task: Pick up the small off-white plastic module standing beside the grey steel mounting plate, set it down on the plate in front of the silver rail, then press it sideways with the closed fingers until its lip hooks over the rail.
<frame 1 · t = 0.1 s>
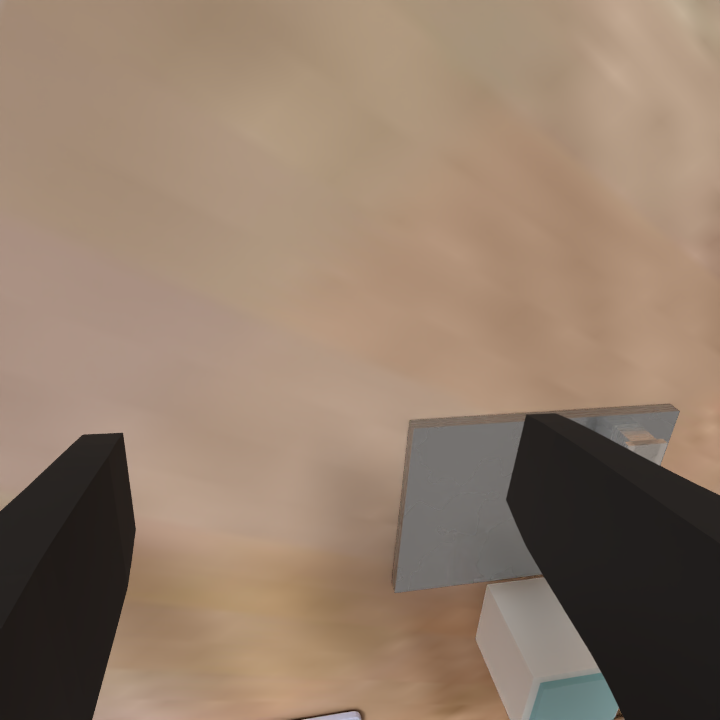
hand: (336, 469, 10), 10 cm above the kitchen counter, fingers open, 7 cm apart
plate: (526, 496, 26), on the kitchen counter
module: (525, 605, 29), on the kitchen counter
lightbulb: (610, 717, 36), on the kitchen counter
rail: (595, 489, 26), resting on plate
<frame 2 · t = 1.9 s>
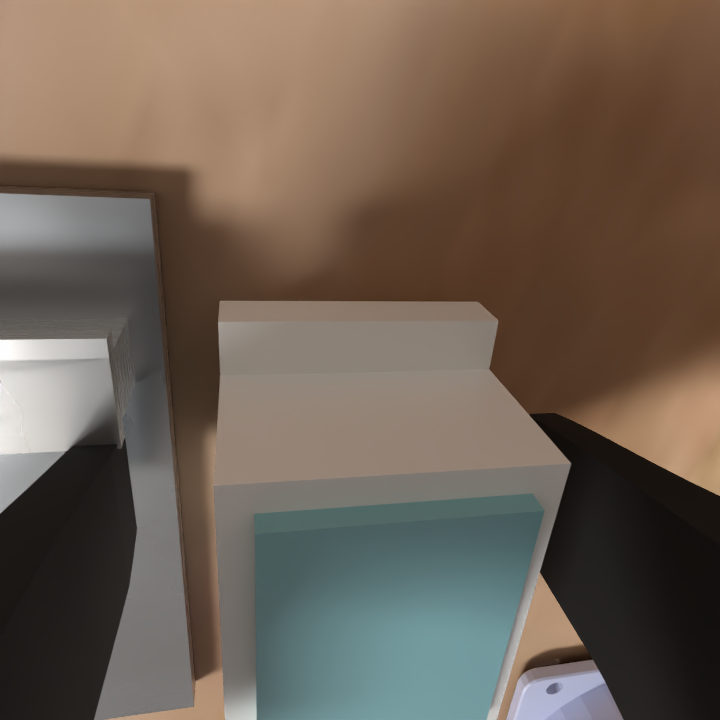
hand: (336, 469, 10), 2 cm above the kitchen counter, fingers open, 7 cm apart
module: (327, 422, 12), on the kitchen counter
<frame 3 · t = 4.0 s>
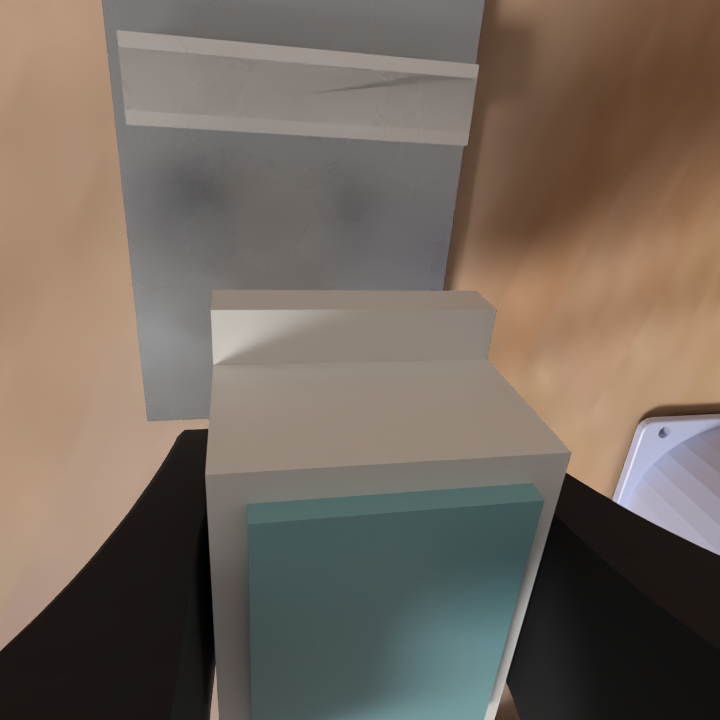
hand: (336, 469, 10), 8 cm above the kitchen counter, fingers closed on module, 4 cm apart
plate: (296, 226, 16), on the kitchen counter
module: (323, 415, 11), point 7 cm above the kitchen counter, touching gripper
rail: (299, 91, 15), resting on plate
when the fingers open (3 cm above the kitchen counter, at t = 5.3 s): module stays where it is, resting on plate.
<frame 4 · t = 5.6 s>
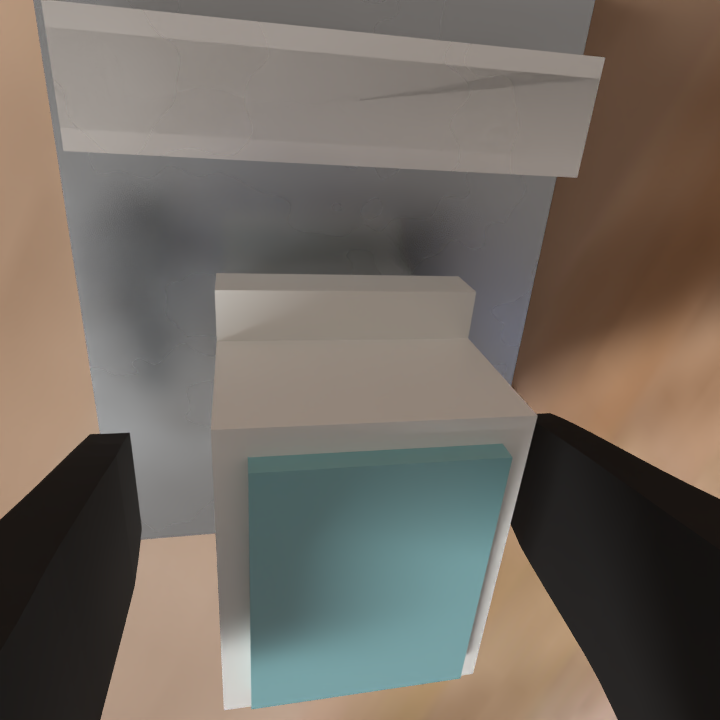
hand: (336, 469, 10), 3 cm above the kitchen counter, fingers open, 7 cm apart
plate: (319, 283, 12), on the kitchen counter
module: (319, 395, 12), point 1 cm above the kitchen counter, touching plate
rail: (328, 97, 10), resting on plate
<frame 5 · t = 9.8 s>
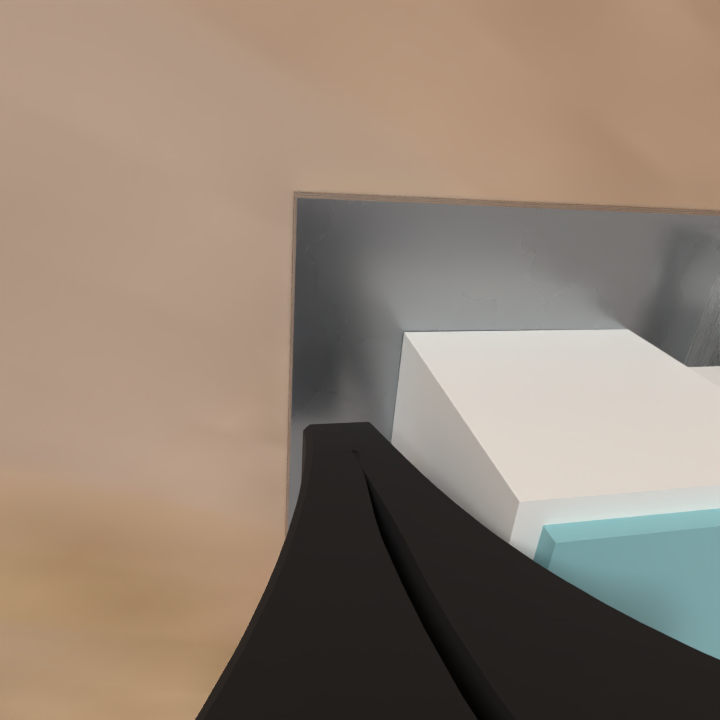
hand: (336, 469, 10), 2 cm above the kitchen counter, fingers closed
plate: (544, 399, 13), on the kitchen counter
module: (503, 414, 12), point 1 cm above the kitchen counter, touching gripper
rail: (672, 394, 14), resting on plate
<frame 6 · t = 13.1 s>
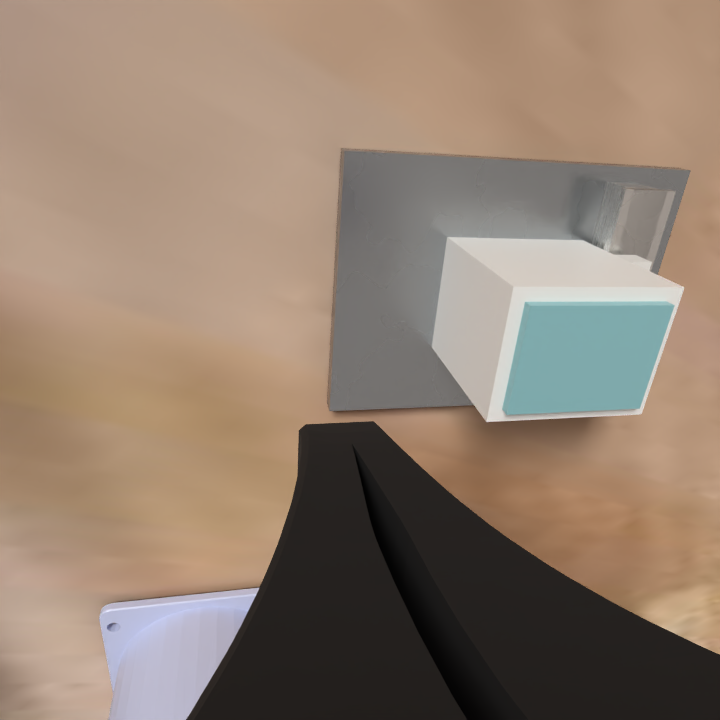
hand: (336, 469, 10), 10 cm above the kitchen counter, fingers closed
plate: (496, 289, 20), on the kitchen counter
module: (506, 294, 20), point 1 cm above the kitchen counter, touching plate
rail: (582, 289, 21), resting on plate
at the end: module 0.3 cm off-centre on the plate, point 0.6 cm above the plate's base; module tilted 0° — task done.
